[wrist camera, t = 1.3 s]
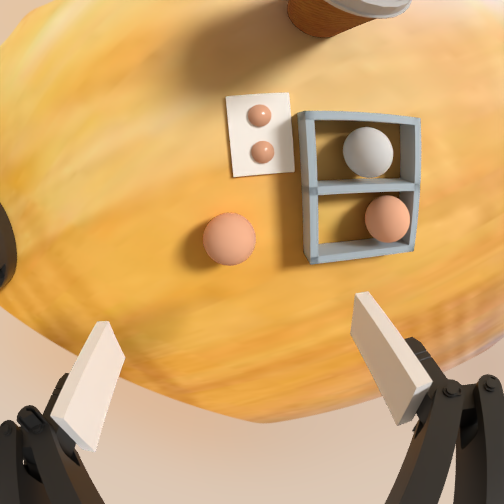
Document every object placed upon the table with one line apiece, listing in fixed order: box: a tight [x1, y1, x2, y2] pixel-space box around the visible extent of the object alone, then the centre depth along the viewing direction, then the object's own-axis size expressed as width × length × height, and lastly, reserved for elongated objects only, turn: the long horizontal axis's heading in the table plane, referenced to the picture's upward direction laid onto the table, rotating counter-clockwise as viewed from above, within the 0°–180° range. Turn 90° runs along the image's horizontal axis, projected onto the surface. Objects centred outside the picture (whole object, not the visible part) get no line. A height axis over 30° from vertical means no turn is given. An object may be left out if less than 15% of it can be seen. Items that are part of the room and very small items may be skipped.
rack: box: [297, 111, 421, 265], centre depth 27 cm, size 13×15×3 cm
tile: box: [226, 93, 295, 177], centre depth 26 cm, size 6×8×1 cm
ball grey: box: [343, 127, 393, 178], centre depth 25 cm, size 5×5×5 cm
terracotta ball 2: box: [365, 195, 410, 243], centre depth 27 cm, size 5×5×5 cm
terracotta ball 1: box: [203, 213, 256, 265], centre depth 27 cm, size 5×5×5 cm
